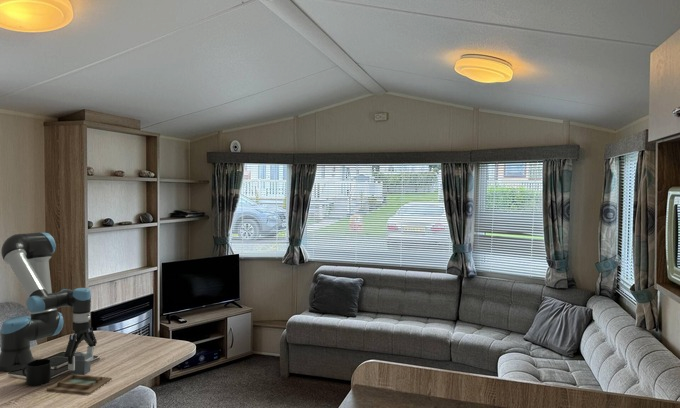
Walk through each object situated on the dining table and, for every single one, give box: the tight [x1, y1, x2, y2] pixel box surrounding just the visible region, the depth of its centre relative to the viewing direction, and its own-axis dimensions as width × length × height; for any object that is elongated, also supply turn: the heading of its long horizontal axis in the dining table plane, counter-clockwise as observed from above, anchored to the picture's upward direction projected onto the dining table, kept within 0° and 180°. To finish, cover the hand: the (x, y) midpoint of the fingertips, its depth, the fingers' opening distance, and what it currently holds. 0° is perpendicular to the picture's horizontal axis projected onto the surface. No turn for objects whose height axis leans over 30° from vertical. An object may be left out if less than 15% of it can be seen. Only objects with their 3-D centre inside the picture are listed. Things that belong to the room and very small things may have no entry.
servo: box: [70, 351, 94, 375], centre depth 227 cm, size 10×4×10 cm, turn 84°
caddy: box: [46, 373, 112, 395], centre depth 213 cm, size 20×16×2 cm
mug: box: [21, 358, 52, 387], centre depth 215 cm, size 9×12×9 cm
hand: (81, 364), depth 227 cm, fingers open, 13 cm apart
